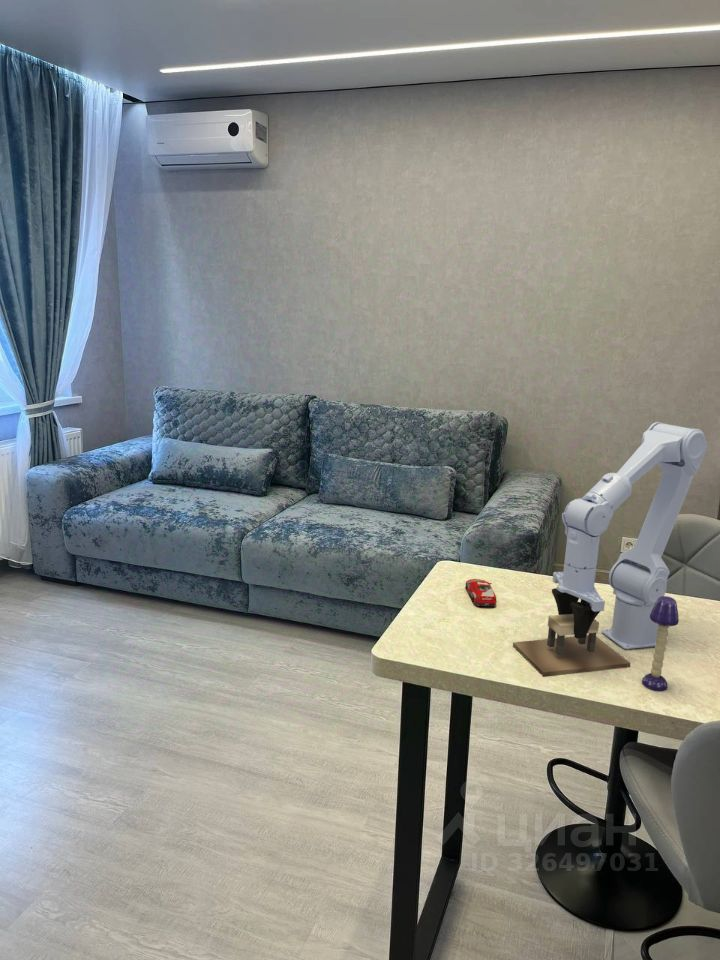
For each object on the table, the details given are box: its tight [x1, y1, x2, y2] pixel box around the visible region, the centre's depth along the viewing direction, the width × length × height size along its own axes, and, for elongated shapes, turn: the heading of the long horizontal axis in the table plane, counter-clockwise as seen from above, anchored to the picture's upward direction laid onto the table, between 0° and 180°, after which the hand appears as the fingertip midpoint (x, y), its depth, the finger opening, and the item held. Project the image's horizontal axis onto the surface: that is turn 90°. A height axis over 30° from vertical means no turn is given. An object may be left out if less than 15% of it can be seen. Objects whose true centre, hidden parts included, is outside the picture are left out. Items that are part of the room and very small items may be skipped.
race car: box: [465, 578, 497, 607], centre depth 162 cm, size 13×5×4 cm, turn 1°
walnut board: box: [512, 634, 631, 677], centre depth 135 cm, size 18×12×1 cm, turn 105°
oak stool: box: [547, 614, 600, 655], centre depth 134 cm, size 4×8×6 cm, turn 103°
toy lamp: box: [641, 595, 680, 692], centre depth 124 cm, size 5×5×17 cm
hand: (572, 631), depth 134 cm, fingers closed on oak stool, 4 cm apart
